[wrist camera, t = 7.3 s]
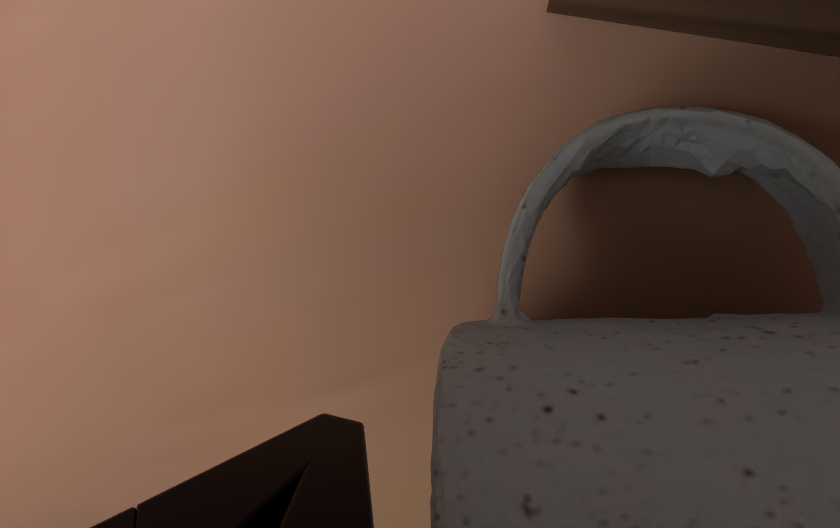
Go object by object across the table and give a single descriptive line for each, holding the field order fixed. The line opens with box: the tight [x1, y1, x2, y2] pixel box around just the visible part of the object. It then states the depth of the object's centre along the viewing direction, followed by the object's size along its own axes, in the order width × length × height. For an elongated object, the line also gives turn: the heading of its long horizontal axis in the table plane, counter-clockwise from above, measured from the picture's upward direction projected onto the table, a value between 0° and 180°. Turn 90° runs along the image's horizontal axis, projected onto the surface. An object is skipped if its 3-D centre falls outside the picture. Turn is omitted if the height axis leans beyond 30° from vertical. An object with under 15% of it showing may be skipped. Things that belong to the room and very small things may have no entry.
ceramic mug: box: [430, 106, 840, 528], centre depth 8 cm, size 11×8×8 cm
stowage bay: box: [547, 0, 840, 57], centre depth 9 cm, size 18×14×4 cm
